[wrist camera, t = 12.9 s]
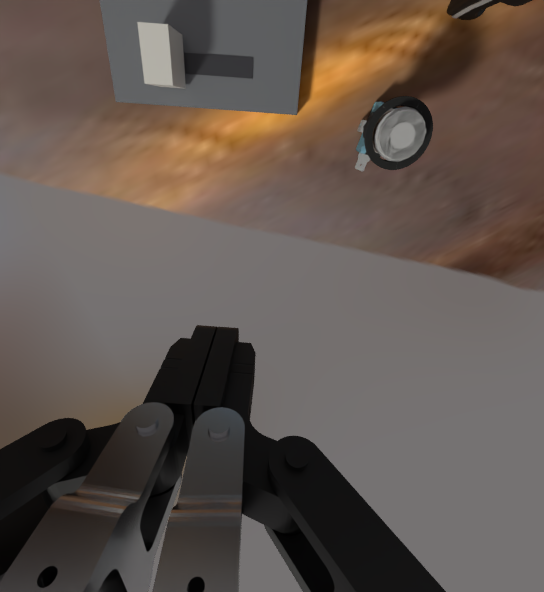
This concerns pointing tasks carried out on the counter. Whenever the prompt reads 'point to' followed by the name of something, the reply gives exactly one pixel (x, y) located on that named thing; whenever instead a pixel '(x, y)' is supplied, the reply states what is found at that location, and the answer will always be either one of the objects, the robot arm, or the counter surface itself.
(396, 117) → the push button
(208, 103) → the breaker board
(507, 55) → the counter surface
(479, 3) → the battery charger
